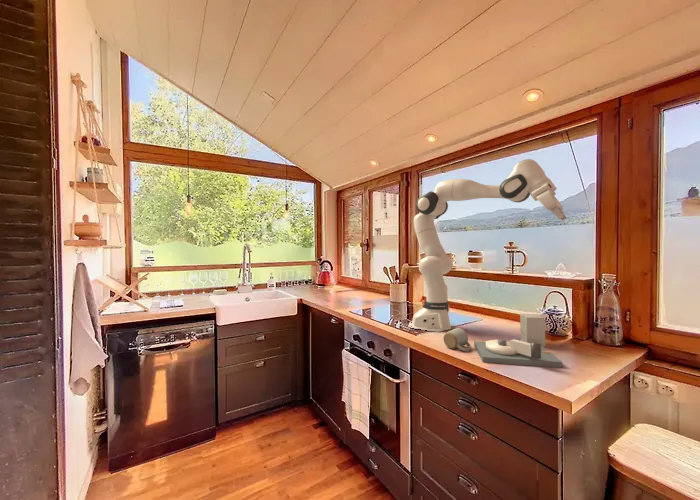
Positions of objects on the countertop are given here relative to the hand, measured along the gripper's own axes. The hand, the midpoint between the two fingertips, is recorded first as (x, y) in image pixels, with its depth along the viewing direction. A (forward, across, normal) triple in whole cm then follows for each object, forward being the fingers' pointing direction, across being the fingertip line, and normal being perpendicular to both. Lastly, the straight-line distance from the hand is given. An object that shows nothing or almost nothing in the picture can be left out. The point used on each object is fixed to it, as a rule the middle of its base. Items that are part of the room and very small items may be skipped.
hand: (563, 218), depth 118 cm
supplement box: (+42, 0, -36) cm, 56 cm away
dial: (+39, +23, -37) cm, 58 cm away
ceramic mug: (+31, +24, -56) cm, 69 cm away
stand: (+41, +20, -38) cm, 59 cm away
